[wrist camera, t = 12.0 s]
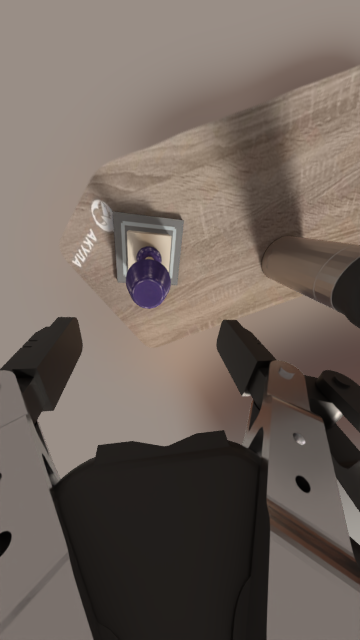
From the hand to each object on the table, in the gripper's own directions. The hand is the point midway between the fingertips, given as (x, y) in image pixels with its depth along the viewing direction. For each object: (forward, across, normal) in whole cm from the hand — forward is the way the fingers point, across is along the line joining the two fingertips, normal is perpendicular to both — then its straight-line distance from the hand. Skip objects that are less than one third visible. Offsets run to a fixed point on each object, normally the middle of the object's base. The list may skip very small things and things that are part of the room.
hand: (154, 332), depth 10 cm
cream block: (+27, 0, 0) cm, 27 cm away
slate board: (+28, 0, 0) cm, 28 cm away
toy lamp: (+23, 0, 0) cm, 23 cm away
